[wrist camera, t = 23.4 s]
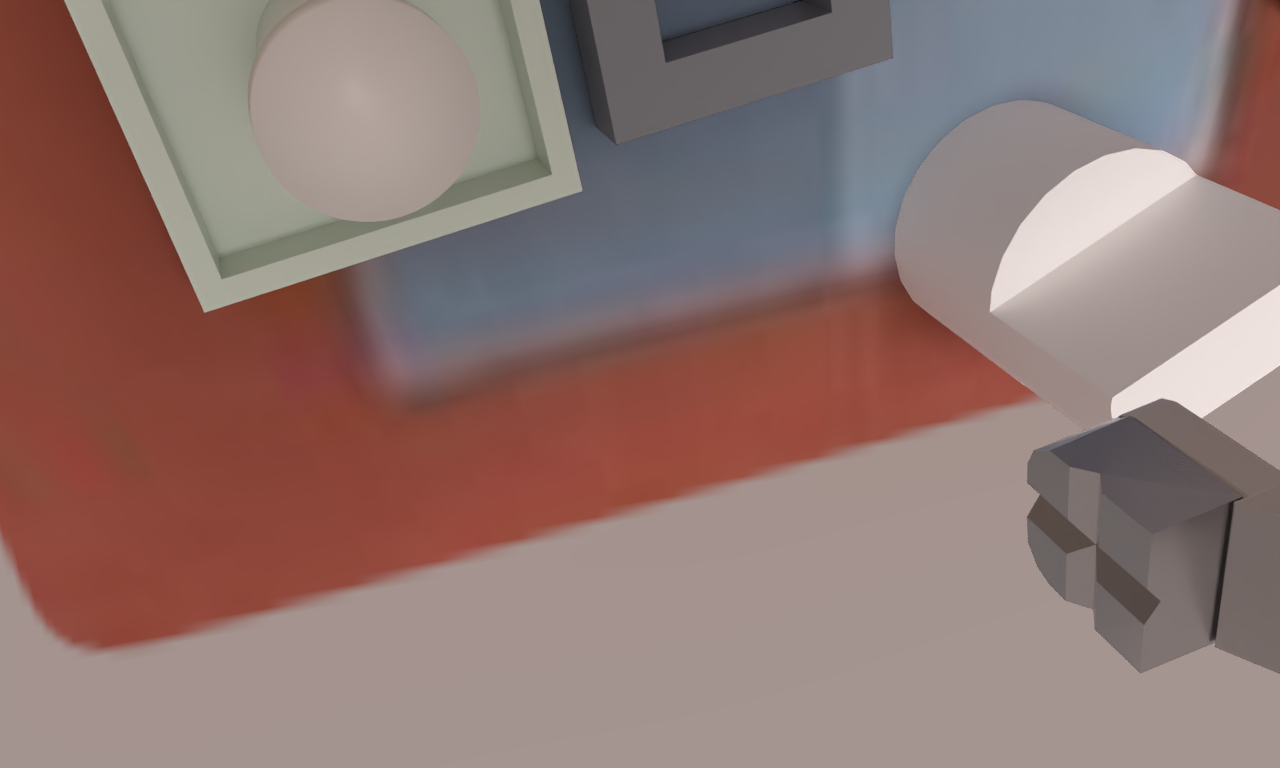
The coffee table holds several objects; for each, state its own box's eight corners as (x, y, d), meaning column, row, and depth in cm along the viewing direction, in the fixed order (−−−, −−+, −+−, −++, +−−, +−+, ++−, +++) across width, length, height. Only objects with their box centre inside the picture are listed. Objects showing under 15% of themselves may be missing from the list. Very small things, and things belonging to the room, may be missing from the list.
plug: (393, -72, 31) (446, -29, 26) (444, 109, 34) (503, 185, 29) (203, -23, 30) (214, 34, 25) (272, 160, 33) (296, 249, 28)
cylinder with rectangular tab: (933, 363, 47) (1141, 532, 37) (862, 187, 41) (1082, 328, 32) (1116, 242, 47) (1369, 377, 37) (1067, 52, 42) (1347, 150, 32)
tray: (467, -233, 31) (486, -231, 29) (561, 168, 37) (582, 191, 35) (21, -126, 29) (11, -116, 27) (201, 282, 35) (204, 312, 33)
